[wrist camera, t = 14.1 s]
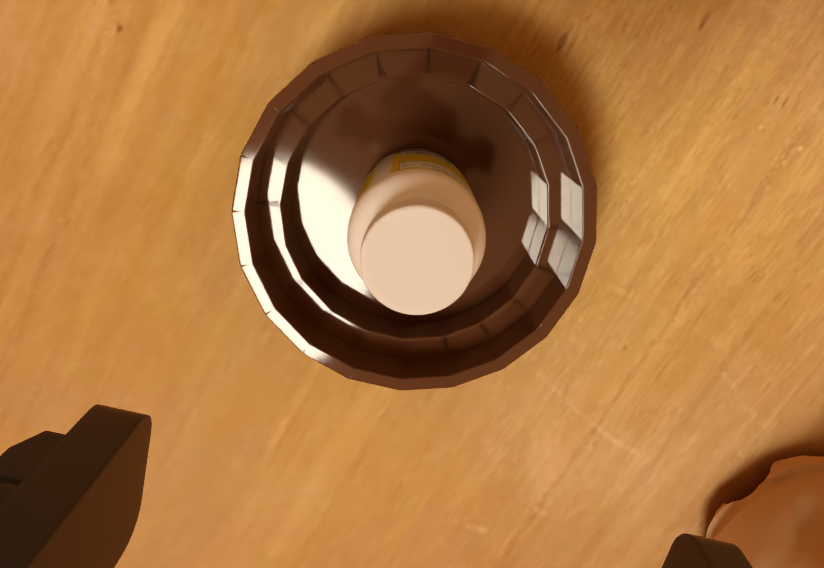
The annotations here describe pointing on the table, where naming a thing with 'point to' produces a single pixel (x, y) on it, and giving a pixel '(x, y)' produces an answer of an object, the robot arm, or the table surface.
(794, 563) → the container
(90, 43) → the table surface
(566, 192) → the bowl
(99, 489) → the robot arm
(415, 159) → the supplement bottle
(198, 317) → the table surface
